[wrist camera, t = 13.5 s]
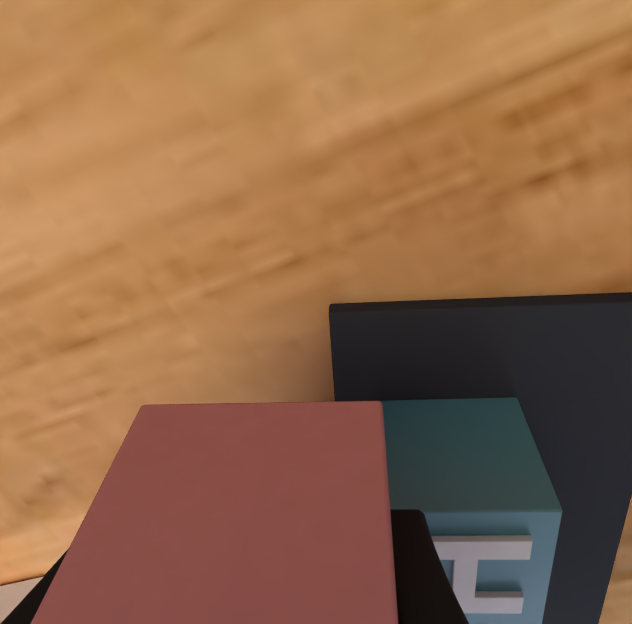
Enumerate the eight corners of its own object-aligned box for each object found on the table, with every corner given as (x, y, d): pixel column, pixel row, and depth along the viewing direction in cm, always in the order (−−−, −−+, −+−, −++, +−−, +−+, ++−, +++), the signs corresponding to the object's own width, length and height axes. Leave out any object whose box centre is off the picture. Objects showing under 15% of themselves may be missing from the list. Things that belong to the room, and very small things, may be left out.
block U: (382, 398, 11) (401, 658, 7) (384, 564, 13) (399, 837, 9) (140, 402, 11) (13, 652, 7) (182, 563, 13) (104, 826, 9)
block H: (517, 396, 18) (566, 516, 14) (504, 501, 21) (544, 633, 16) (370, 399, 19) (375, 518, 15) (373, 503, 21) (379, 631, 17)
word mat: (672, 290, 17) (682, 299, 16) (566, 718, 28) (570, 732, 27) (329, 303, 18) (328, 313, 17) (357, 714, 29) (357, 728, 28)
